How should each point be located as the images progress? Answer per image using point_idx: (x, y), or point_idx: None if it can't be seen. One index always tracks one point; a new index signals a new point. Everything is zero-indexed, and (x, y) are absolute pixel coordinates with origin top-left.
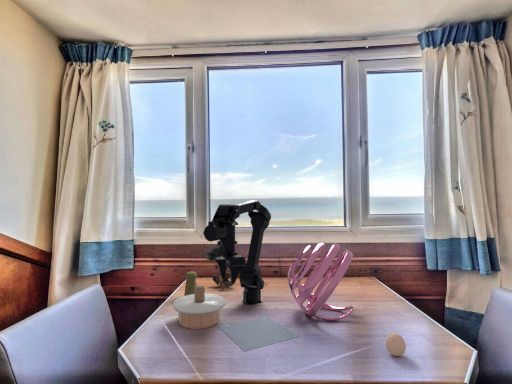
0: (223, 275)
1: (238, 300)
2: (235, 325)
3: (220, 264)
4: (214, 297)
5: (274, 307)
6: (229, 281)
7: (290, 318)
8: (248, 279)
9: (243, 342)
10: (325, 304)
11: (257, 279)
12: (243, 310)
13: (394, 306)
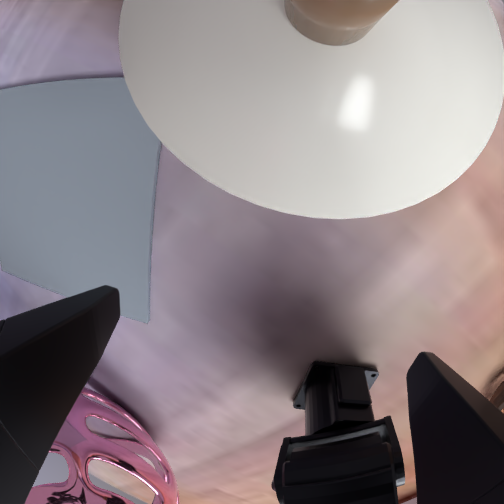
0: (418, 387)
1: (400, 364)
2: (134, 158)
3: (502, 486)
4: (333, 152)
5: (227, 400)
6: (500, 410)
7: (111, 359)
8: (318, 466)
9: (21, 110)
10: (136, 451)
11: (275, 481)
12: (289, 312)
13: (100, 472)
